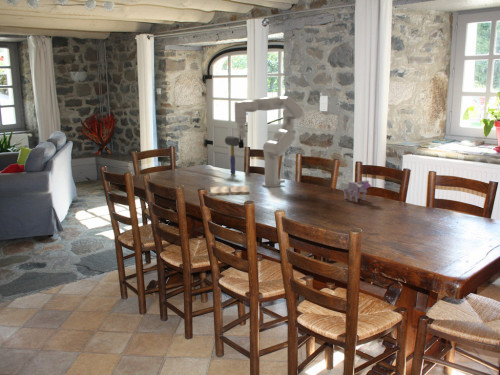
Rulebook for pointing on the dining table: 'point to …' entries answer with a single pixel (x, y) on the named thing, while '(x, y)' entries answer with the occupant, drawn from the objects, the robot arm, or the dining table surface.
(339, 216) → the dining table surface
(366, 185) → the toy sheep
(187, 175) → the dining table surface
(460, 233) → the dining table surface
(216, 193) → the oak plank
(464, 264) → the dining table surface
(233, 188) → the laid board
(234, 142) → the rubber mallet
